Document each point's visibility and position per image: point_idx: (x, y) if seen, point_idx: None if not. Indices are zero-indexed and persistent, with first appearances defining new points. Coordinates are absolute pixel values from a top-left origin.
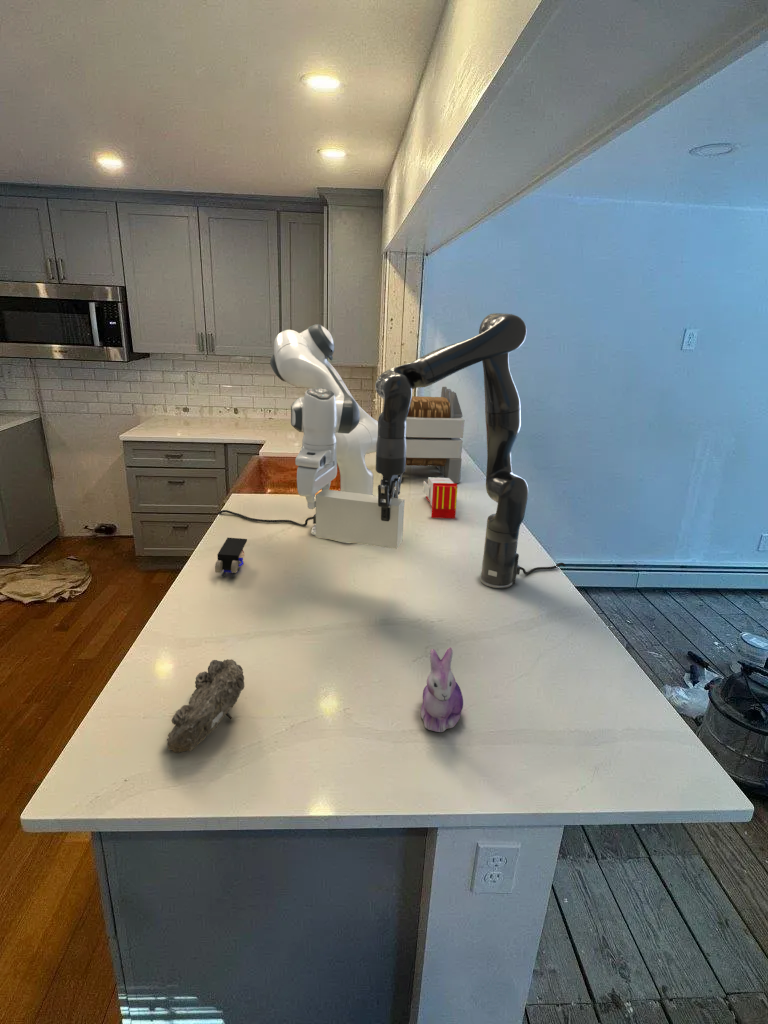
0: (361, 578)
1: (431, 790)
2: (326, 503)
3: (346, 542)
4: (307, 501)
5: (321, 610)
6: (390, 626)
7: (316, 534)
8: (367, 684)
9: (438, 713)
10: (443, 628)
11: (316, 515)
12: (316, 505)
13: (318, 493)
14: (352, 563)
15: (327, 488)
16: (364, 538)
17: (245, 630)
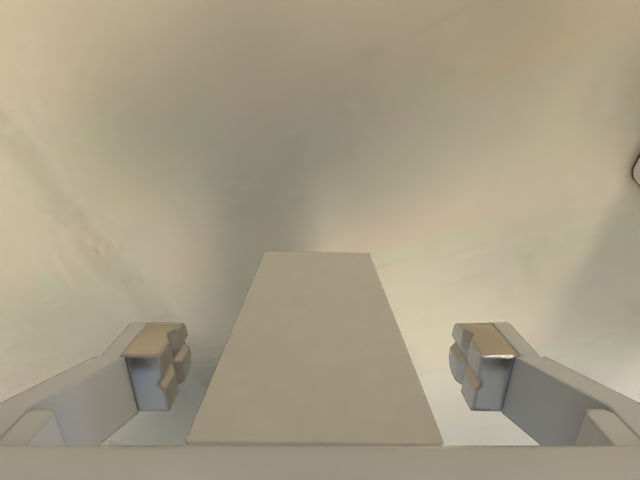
0: (393, 281)
1: None
2: None
3: (636, 169)
4: (81, 366)
5: (194, 245)
6: (199, 389)
7: (262, 259)
8: (6, 398)
9: None
10: None
11: (240, 314)
12: (219, 365)
13: (259, 445)
14: (481, 232)
15: (532, 428)
16: None
17: (11, 102)
